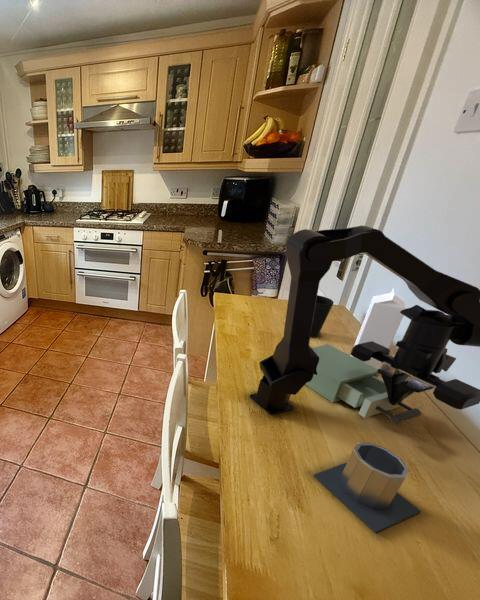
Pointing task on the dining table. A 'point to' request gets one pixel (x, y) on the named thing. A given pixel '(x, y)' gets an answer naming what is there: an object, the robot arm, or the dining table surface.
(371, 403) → the drawer
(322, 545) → the dining table surface
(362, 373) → the sage green angled casing
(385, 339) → the milk
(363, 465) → the tumbler
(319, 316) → the cup
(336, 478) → the pad
